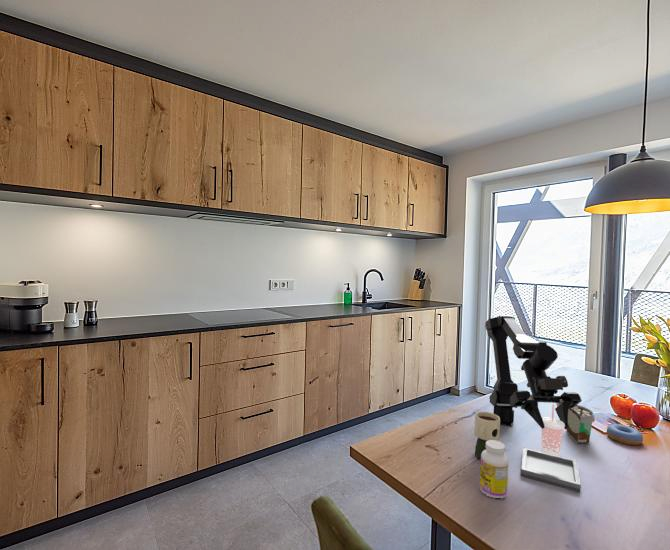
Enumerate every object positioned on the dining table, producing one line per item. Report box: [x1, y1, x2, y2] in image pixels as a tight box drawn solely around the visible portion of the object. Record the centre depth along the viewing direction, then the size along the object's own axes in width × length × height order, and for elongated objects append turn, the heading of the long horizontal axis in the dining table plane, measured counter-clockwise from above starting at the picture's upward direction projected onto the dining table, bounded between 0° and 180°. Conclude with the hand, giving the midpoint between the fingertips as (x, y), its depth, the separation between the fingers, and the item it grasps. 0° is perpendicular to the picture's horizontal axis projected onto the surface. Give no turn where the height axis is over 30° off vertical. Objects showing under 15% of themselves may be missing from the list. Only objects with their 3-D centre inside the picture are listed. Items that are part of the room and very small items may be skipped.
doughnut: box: [606, 423, 644, 446], centre depth 129 cm, size 10×10×5 cm
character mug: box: [473, 411, 501, 459], centre depth 114 cm, size 11×7×13 cm, turn 141°
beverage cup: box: [540, 403, 565, 456], centre depth 107 cm, size 6×6×14 cm
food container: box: [565, 404, 596, 445], centre depth 128 cm, size 12×6×10 cm, turn 168°
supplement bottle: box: [479, 440, 510, 499], centre depth 97 cm, size 7×7×13 cm
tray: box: [520, 447, 582, 493], centre depth 108 cm, size 14×14×2 cm
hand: (554, 428), depth 106 cm, fingers closed on beverage cup, 6 cm apart
